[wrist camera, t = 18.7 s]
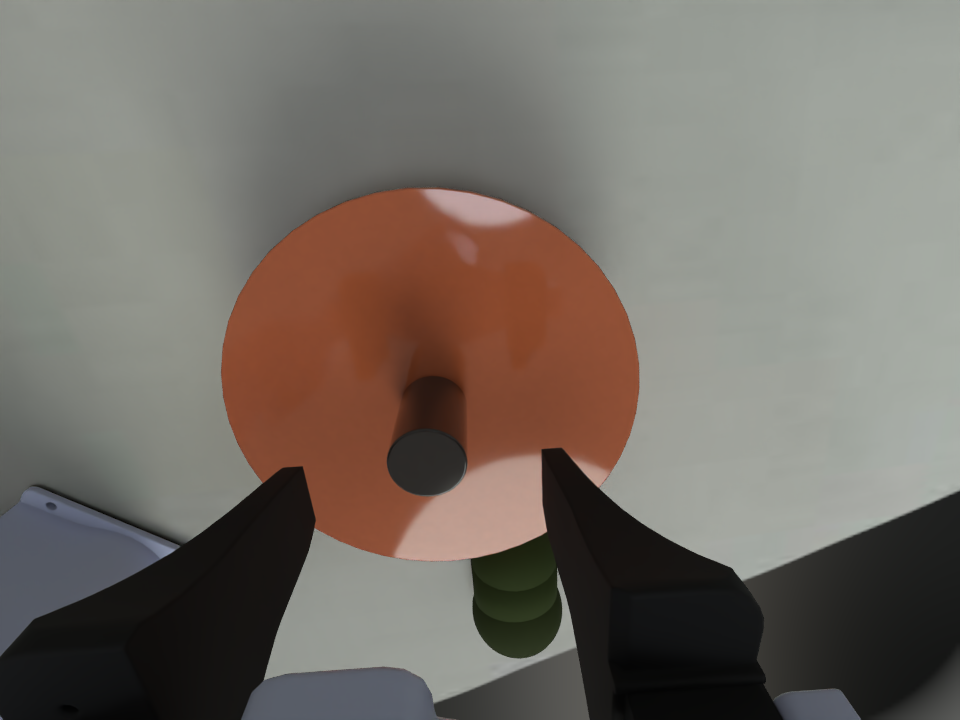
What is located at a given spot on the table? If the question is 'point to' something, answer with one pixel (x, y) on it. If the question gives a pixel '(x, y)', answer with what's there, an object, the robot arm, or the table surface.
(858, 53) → the table surface
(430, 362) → the lid
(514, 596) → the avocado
